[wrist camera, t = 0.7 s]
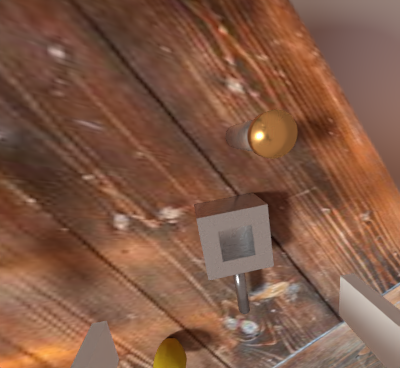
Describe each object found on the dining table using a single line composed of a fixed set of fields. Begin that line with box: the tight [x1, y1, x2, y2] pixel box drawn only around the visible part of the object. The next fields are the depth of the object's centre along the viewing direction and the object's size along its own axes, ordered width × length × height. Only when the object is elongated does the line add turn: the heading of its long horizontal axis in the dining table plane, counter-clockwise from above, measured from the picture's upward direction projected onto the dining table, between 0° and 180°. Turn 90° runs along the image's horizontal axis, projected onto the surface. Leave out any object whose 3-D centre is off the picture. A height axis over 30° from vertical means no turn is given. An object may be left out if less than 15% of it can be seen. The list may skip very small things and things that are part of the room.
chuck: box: [194, 193, 274, 314], centre depth 35 cm, size 21×11×6 cm, turn 10°
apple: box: [153, 338, 187, 368], centre depth 38 cm, size 6×6×8 cm
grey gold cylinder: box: [226, 110, 298, 159], centre depth 26 cm, size 5×5×14 cm
